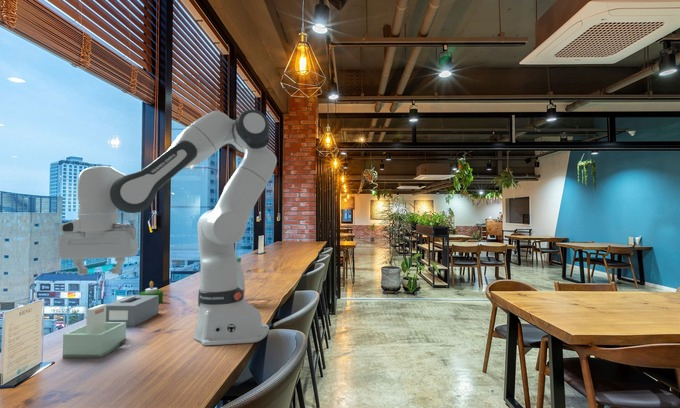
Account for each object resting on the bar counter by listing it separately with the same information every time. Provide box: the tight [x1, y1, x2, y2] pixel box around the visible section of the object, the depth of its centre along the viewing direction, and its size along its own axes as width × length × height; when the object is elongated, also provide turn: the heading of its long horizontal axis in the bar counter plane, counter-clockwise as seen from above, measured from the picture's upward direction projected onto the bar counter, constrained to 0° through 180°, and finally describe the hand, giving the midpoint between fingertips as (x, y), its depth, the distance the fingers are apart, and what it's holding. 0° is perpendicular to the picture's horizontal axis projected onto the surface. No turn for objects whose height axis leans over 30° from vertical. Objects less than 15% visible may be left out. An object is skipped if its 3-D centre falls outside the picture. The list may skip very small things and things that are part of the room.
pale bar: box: [85, 303, 107, 334], centre depth 92 cm, size 2×5×11 cm, turn 178°
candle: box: [139, 280, 164, 305], centre depth 138 cm, size 8×8×10 cm
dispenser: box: [106, 294, 160, 328], centre depth 114 cm, size 10×14×9 cm
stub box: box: [62, 322, 127, 359], centre depth 92 cm, size 10×10×6 cm
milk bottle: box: [236, 256, 246, 300], centre depth 135 cm, size 8×8×20 cm
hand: (99, 274), depth 93 cm, fingers open, 8 cm apart
